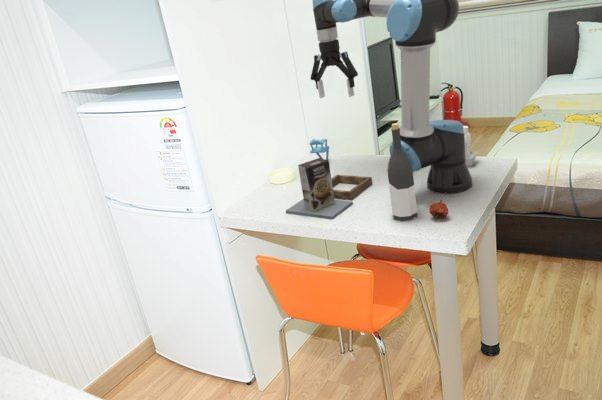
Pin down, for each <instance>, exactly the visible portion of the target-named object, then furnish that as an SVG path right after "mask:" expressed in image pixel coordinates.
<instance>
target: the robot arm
mask: <svg viewBox="0 0 602 400" xmlns="http://www.w3.org/2000/svg"><path fill="white" fill-rule="evenodd" d="M312 11H313V16H314V23H315V29H316V35H317V41H318V47H319V52H320V54H315V55H314V56H313V65H312V66H313V67H312V70H311V74H310V81H314V82H315V87H316V90H317V92H318V97H319V99H323V98H324V97H326V95H325V89H324V81H323V79H322V77H323V75H324V73H325V71H326V69H327V67H330V66H331V67H333V66H336V67H337V68H338V69H339V70H340V71H341V72H342V74H344V75H345V77H346V78H347V79H346V85H347V94H348V97H349V98H351V97H353V96H355V91H354V87H356V86H355V77H358V76H359V73H358V71H357V69H356V68H355V66H354V64H353V63H352V60H351V59H350V57H349V54H348V51H343V52H341V51H340V41H339V39H338V38H339V36H338V35H339V34H338V27H337V23H341V24H342V23H348V22H350V21H353V20H357V19H361V18H368V17H374V18H375V17H376V18H386V30H387V32H388V35H389V36H390V38H391V39H392V40H393V41H395V47H397V48H398V49H399V50H400V99H401V101H400V102H401V103H400V104H401V105H400V108H401V111H400V112H401V117H400V118H401V125H399V128H400V139H401V148H402V149H403V151H404V152H405V154H406V155H407V157H408V159H409V161H410V163H411V166H412V170H413V173H414V172H418V171H421V170H422V169H425V168H426V167H429V172H428V175H427V179H426V187H427V189H428V191H431V192H433V193H436V194H437V193H438V194H455V193H456V194H457V193H460V192H461V193H462V192H464V191H466V190H469V189H470V188H471V187H472V186H473V177H472V175H471V173H470V170H469V167H468V166H467V165H466V161H465V141H464V130H463V126H464V124H463V123H462V122H461V121H459V120H453V119H438V120H431V121H430V93H431V92H430V88H431V87H430V86H431V85H430V82H431V80H430V77H431V48H432V47H433V46H434V45H435V44H436V41H437V40H436V37H437V33H439V32H442V31H445V30H447V29H449V28H450V27H452V25H454V23H455V22H456V20H457V18H458V15H459V11H460V4H459V1H458V0H312ZM341 59H342V60H341ZM321 61H322V63H321ZM320 64H321V65H320ZM393 149H394V147H393V141H392V142H391V143H390V145H389V155H390V156H391V154H392V152H393Z"/></svg>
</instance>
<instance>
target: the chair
mask: <svg viewBox="0 0 602 400" xmlns="http://www.w3.org/2000/svg"><path fill="white" fill-rule="evenodd" d="M309 145H310V147H311V150H310V152H309V153H310V154H316V156H317V157H318V158H320V159H324V158H323V157H322V155H321V154H323V153H326V155H325V156H326V158H325V160H328V161H329V162H330V160H329V155H330V154H329V153H330V150H329V149H330V146H328V138H322V139H314V138H312V139H311V140H310V141H309ZM319 145H320V146H319ZM324 145H325V146H324Z"/></svg>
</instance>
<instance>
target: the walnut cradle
mask: <svg viewBox="0 0 602 400" xmlns="http://www.w3.org/2000/svg"><path fill="white" fill-rule="evenodd" d="M331 180H332V186H333V188H334V187H336V186H337V185H339V184H345V185H356V186H354V187H352V188H351V189H350V190H342V189H333V193H334V199H335V200H344V201H353V200H354V199H355V198H357V197H358V196H359V195H361V194H362V193H363V192H365V191H366V190H367V189H369V188H370V187H371V186H373V178H372V176H364V175H363V176H358V175H347V174H346V175H345V174H336V175H334V176H333V177H331Z"/></svg>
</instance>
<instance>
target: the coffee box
mask: <svg viewBox="0 0 602 400" xmlns="http://www.w3.org/2000/svg"><path fill="white" fill-rule="evenodd" d="M297 167H298V171H299V172H298V174H299V178H300V184H301V190H302V197H303V198H302V199H304V204H305V208H307V209H309V210H311V211H313V212H315V211H318V210H320V209H323V208H325V207H328V206H330V205H333V204H335V200H336V199H334V193H333V190H334V187H333V186H332V180H331V179H332V175H331V169H330V160H329V161H328V160H326V158H323V159H320V158H319V157H318V158H315V159H313V160H310V161H309V160H308V161H307V162H303V163H300V164H297Z"/></svg>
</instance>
